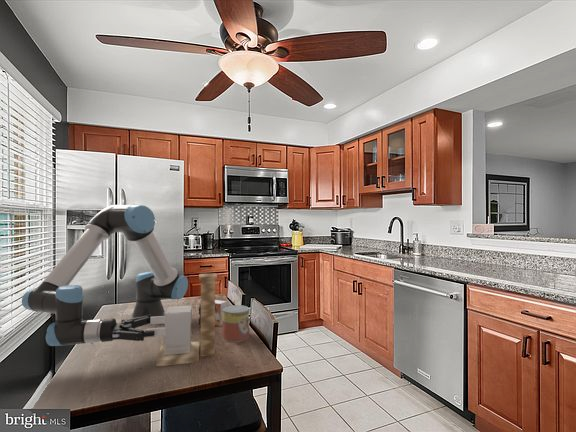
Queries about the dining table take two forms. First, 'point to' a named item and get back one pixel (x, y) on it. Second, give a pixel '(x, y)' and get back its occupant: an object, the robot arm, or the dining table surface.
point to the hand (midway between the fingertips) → (167, 325)
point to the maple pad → (178, 356)
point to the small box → (219, 311)
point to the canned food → (235, 323)
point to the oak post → (207, 313)
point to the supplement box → (178, 330)
